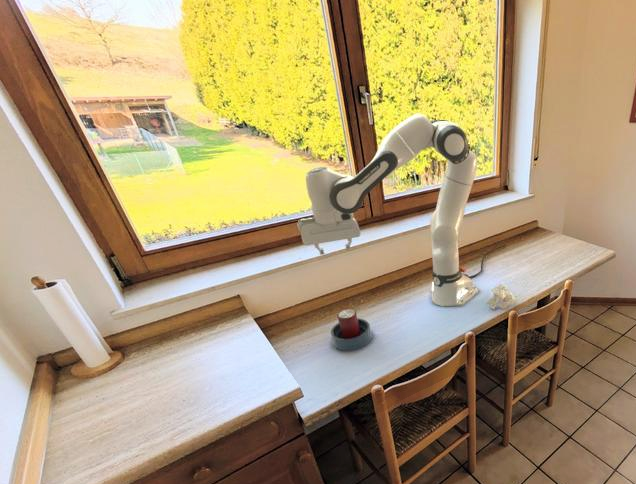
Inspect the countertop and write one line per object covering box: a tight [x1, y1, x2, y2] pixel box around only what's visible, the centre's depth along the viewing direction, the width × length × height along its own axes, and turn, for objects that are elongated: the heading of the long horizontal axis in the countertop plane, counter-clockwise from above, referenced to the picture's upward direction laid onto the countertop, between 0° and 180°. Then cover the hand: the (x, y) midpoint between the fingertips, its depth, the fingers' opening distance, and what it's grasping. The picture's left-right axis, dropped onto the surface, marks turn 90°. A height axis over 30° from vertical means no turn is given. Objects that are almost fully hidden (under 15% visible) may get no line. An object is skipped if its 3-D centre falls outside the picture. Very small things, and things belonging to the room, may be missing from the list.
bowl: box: [330, 318, 373, 352], centre depth 133 cm, size 14×14×6 cm
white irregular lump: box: [485, 283, 518, 310], centre depth 155 cm, size 12×9×10 cm
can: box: [337, 309, 361, 339], centre depth 131 cm, size 6×6×12 cm
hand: (335, 251), depth 135 cm, fingers open, 8 cm apart
